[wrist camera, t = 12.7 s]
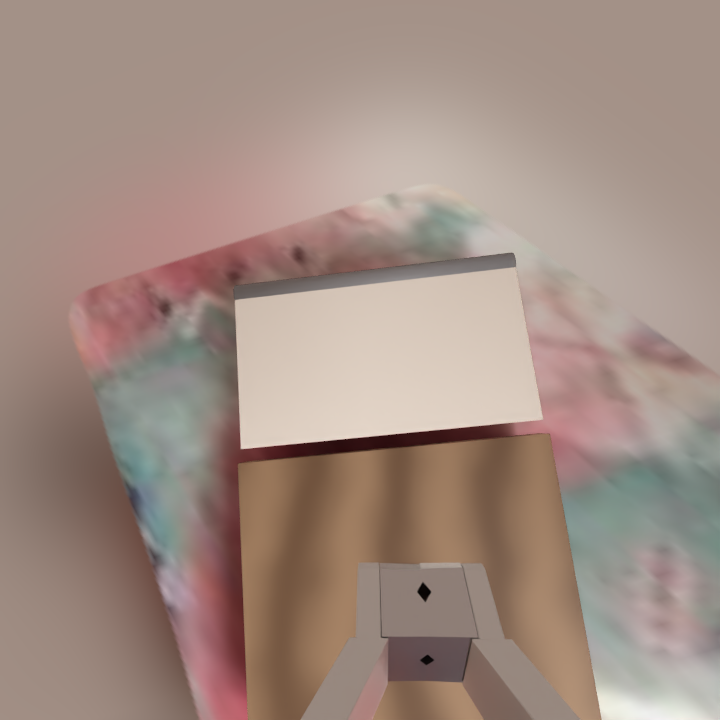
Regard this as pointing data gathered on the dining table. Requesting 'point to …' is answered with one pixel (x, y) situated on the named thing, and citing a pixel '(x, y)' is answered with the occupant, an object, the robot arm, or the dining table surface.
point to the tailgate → (383, 352)
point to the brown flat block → (405, 545)
